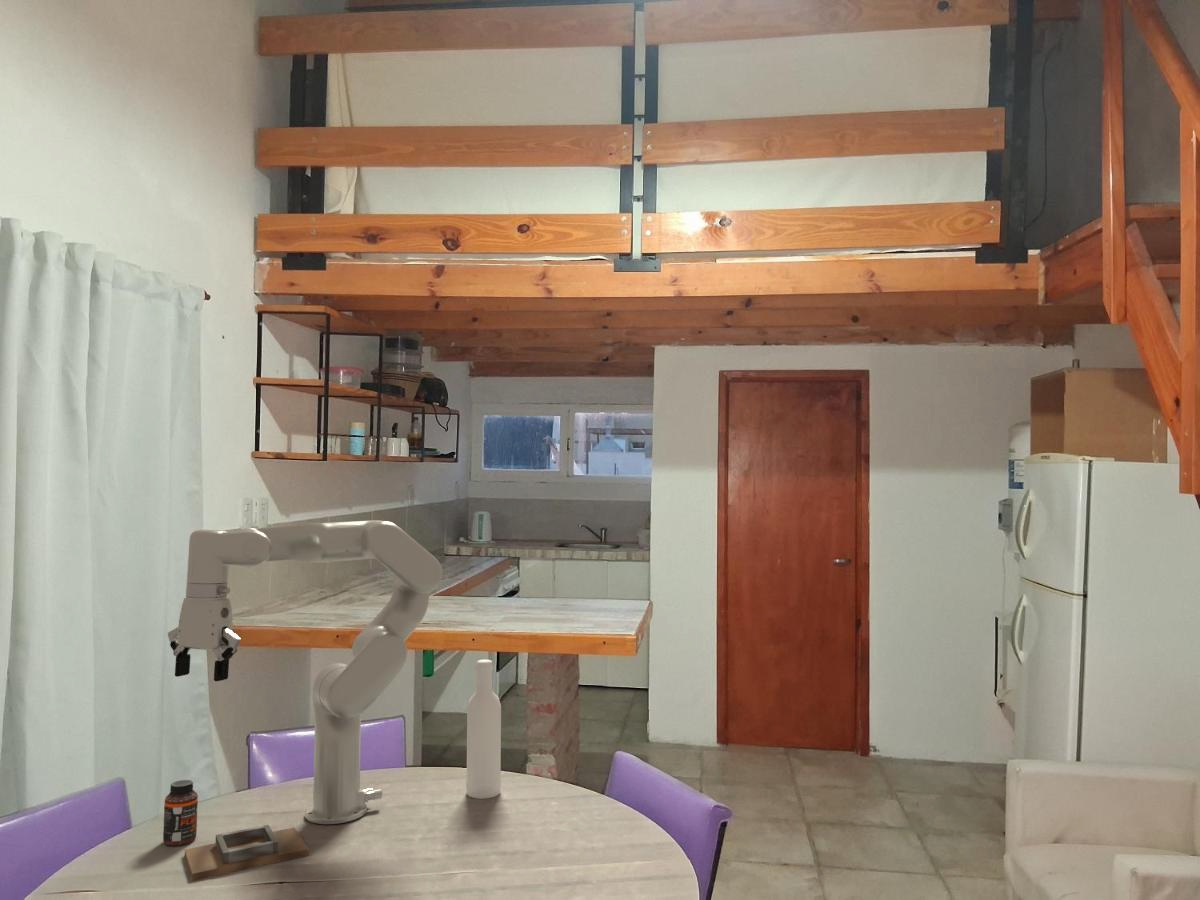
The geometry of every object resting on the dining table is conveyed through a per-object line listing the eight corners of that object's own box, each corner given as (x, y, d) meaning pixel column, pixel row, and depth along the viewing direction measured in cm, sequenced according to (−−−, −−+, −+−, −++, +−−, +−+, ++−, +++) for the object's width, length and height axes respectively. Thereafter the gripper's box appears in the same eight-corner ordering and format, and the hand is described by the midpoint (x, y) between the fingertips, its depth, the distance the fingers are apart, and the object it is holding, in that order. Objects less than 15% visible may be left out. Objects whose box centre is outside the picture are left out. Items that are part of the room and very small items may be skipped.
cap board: (294, 833, 171) (294, 817, 171) (308, 855, 161) (308, 837, 161) (184, 855, 160) (184, 838, 161) (192, 880, 150) (192, 862, 150)
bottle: (508, 793, 194) (508, 660, 196) (480, 802, 188) (482, 665, 190) (486, 784, 200) (487, 656, 201) (459, 793, 194) (460, 660, 195)
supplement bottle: (182, 848, 164) (184, 789, 164) (155, 846, 165) (157, 786, 165) (203, 836, 170) (204, 778, 170) (177, 833, 171) (178, 776, 171)
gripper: (255, 592, 171) (249, 678, 170) (187, 587, 177) (181, 670, 176) (227, 595, 164) (222, 685, 163) (158, 590, 170) (152, 677, 168)
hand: (201, 677), depth 169 cm, fingers open, 9 cm apart
